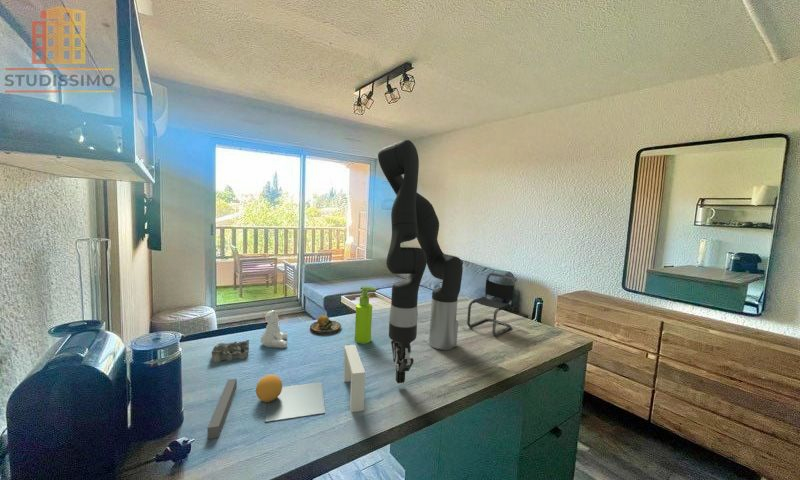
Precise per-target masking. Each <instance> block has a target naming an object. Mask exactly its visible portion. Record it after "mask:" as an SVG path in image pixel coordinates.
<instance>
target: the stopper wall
mask: <svg viewBox="0 0 800 480" xmlns="http://www.w3.org/2000/svg"><path fill="white" fill-rule="evenodd" d="M237 380H238V379H237V378H230V379H229V378H228V379H227V381H226V384H225V386H224V387H223V390H222V392H221V395H220V398H219V400H218V403H217V404H216V406H215V409H214V412H213V413H212V416H211V419H210V421H209V424H208V426H207V440H212V439H218V438H220V435H221V432H222V429H223V428H224V427H223V426H224V424H225V422H226V419H227V416H228V413H229V410H230V408H231V405H232V401H233V398H234V397H235V393H236V391H237V388H238V387H237V385H238V384H237V383H238V381H237Z"/></svg>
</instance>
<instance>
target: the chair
mask: <svg viewBox="0 0 800 480" xmlns="http://www.w3.org/2000/svg"><path fill="white" fill-rule="evenodd" d="M491 276H494V277H499V278H503V279H509V280H512V282H511V284H510V285H508V284H507V285H506V284H500V283H496V282H493V281H490V277H491ZM516 281H518V277H513V276H509V275H503V274H499V273H493V272H490V273H488V274H487V275H486V280H485V291H484V295H483V296H482V297H479V298H476V299H473V300H471V301H469V304H468V306H467V316H466V317H467V321H466V323H467V324H466V325H467V326H468V327H469V328H472V327H474V326H476V325H479V324H481V322H482V323H483V321H484V322H486V321H485V320H491V321H490V322H492V335H493V336H494V337H497V336H499V335H501V334H503V333H505V332H507V331H509V330H510V329H512V326H511V325H510V324H509V323H506V322H504V321H500V320H497V315H498V313H499V311H500V312H501V311H502V310H505V309H507V308H509V307H510V306H512V303H513V301H514V290H515V283H516ZM487 296H491V297H493V298H498V299H502V300H508V301H509V302H508V303H507V302H506V303H505V302H499V301H497V300H496V301H495V300H492V299H489V298H487ZM475 303H477V304H479V305H481V306H485V307H489V308H493V309H494V308H495V310H494V312H493V318H491V317H490V318H489V317H488V318H487V317H485V318H483V319H480V320H477V321H475V322H473V323H471V309H472V305H473V304H475ZM496 322H498V323H496ZM499 323H501V324H500V325H502V324H504V325H503V326H505V325H507V326H506V328H503V329H501V330H499V331H498V332H496V325H497V324H499Z"/></svg>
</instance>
